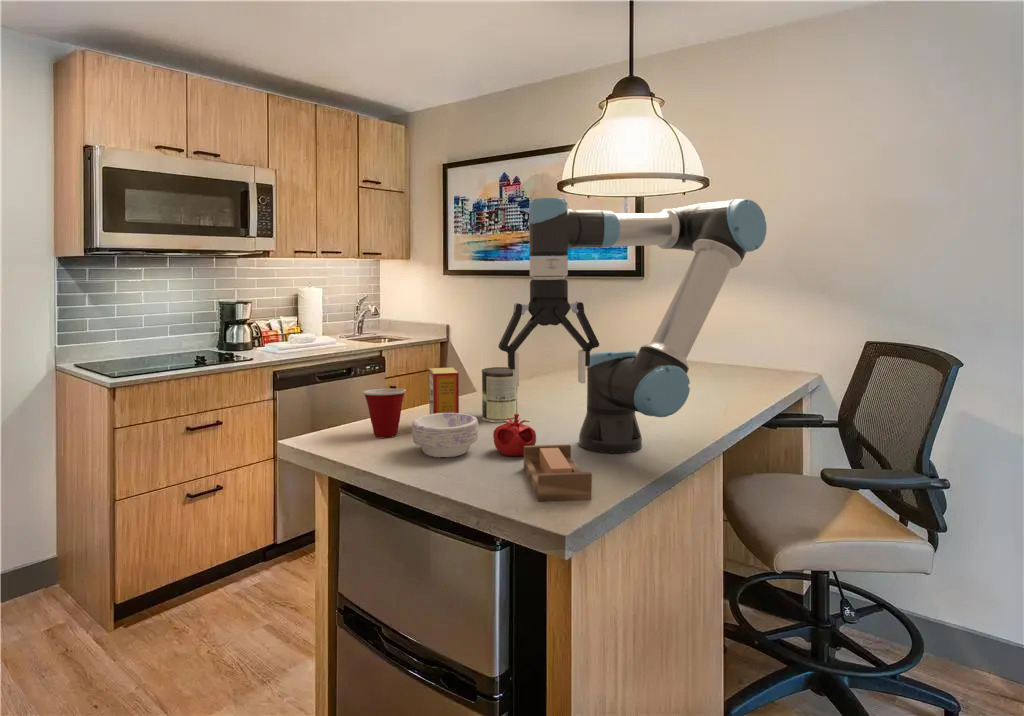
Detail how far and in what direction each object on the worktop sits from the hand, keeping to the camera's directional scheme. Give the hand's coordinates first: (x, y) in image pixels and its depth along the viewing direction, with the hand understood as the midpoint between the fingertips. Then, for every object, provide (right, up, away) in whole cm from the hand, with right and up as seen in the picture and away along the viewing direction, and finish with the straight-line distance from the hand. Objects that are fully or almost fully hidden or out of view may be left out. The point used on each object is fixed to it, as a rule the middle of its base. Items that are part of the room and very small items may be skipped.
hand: (549, 383), depth 131 cm
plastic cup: (-40, -15, +35) cm, 55 cm away
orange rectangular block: (+1, -19, -1) cm, 19 cm away
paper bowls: (-23, -17, +20) cm, 35 cm away
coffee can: (-11, -12, +53) cm, 56 cm away
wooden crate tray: (+1, -20, -1) cm, 20 cm away
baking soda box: (-26, -14, +43) cm, 52 cm away
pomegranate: (-7, -17, +20) cm, 27 cm away
